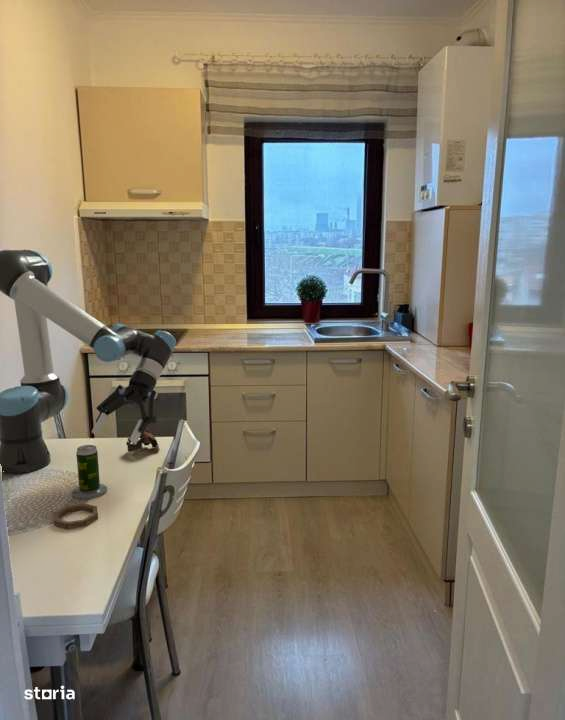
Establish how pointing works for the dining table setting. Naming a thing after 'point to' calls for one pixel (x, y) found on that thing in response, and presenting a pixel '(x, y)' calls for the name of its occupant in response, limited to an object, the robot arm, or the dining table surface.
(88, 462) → the beer can
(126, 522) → the dining table surface
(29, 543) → the dining table surface
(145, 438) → the dark brown arched part
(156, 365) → the robot arm
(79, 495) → the slate coaster
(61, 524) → the walnut ring
